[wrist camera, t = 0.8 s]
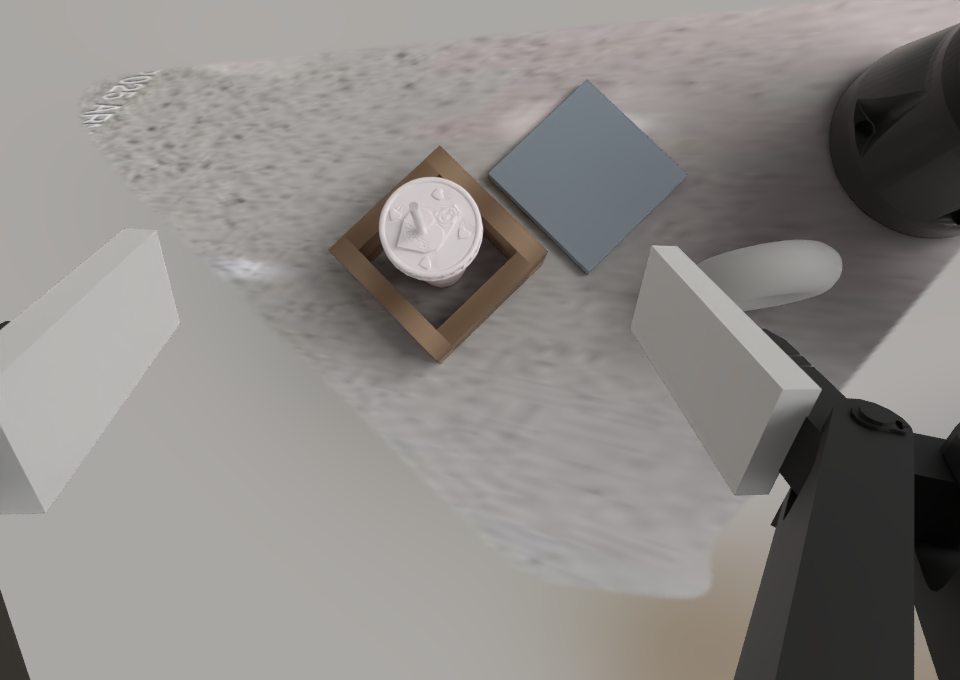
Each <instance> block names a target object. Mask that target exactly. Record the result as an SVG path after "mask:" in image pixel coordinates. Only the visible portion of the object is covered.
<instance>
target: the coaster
mask: <svg viewBox="0 0 960 680" xmlns="http://www.w3.org/2000/svg"><path fill="white" fill-rule="evenodd" d="M687 175H688V174H687V173H686V172H685V171H684V170H683V169H682V168H681V167H680V166H679V165H677V164H676V163H675V162H674V161H673V160H672V159H671V158H670V157H669V156H668V155H667V154H666V153H665V152H664V151H663V150H662V149H660V148H659V147H658V146H657V145H656V144H655V143H654V142H653V141H652V140H651V139H650V138H649V137H648V136H647V135H646V134H645V133H643V132H642V131H641V130H640V129H639V128H638V127H637V126H636V125H635V124H634V123H633V122H632V121H631V120H630V119H629V118H628V117H626V116H625V115H624V114H623V113H622V112H621V111H620V110H619V109H618V108H617V107H616V106H615V105H614V104H613V103H612V102H611V101H609V100H608V99H607V98H606V97H605V96H604V95H603V94H602V93H601V92H600V91H599V90H598V89H597V88H596V87H595V86H594V85H592V84H591V83H590V82H589V81H588V80H586V81H585V82H584V83H583V84H582V85H581V86H580V87H578V88H577V89H576V90H575V91H574V92H573V93H572V94H571V95H570V96H569V97H568V98H567V99H566V100H565V101H564V102H563V103H562V104H561V105H560V106H558V107H557V108H556V109H555V110H554V111H553V112H552V113H551V114H550V115H549V116H548V117H547V118H546V119H545V120H544V121H543V122H542V123H541V124H539V125H538V126H537V127H536V128H535V129H534V130H533V131H532V132H531V133H530V134H529V135H528V136H527V137H526V138H525V139H524V140H523V141H522V142H521V143H519V144H518V145H517V146H516V147H515V148H514V149H513V150H512V151H511V152H510V153H509V154H508V155H507V156H506V157H505V158H504V159H503V160H502V161H500V162H499V163H498V164H497V165H496V166H495V167H494V168H493V169H492V170H491V171H490V172H489V173H488V178H489V179H490V180H491V181H492V182H493V183H494V184H495V185H496V186H498V187H499V188H500V189H501V190H502V191H503V192H504V193H505V194H506V195H507V196H508V197H509V198H510V199H511V200H512V201H513V202H514V203H515V204H516V205H517V206H518V207H519V208H520V209H521V210H522V211H523V212H524V213H525V214H526V215H527V216H528V217H529V218H530V219H531V220H532V221H533V222H534V223H535V224H536V225H537V226H538V227H539V228H540V229H541V230H542V231H543V232H544V233H546V234H547V235H548V236H549V237H550V238H551V239H552V240H553V241H554V242H555V243H556V244H557V245H558V246H559V247H560V248H561V249H562V250H563V251H564V252H565V253H566V254H567V255H568V256H569V257H570V258H571V259H572V260H573V261H574V262H575V263H576V264H577V265H578V266H579V267H580V268H581V269H582V270H583V271H584V272H585V273H586V274H588V273H589V272H590V271H591V270H592V269H593V268H594V267H595V266H596V265H597V264H598V263H599V262H600V261H601V260H602V259H603V258H604V257H605V256H606V255H607V254H608V253H609V252H610V251H611V250H612V249H613V248H614V247H615V246H616V245H617V244H619V243H620V242H621V241H622V240H623V239H624V238H625V237H626V236H627V235H628V234H629V233H630V232H631V231H632V230H633V229H634V228H635V227H636V226H637V225H638V224H639V223H640V222H641V221H642V220H643V219H644V218H645V217H646V216H647V215H648V214H649V213H650V212H651V211H652V210H653V209H654V208H655V207H656V206H657V205H658V204H659V203H660V202H661V201H662V200H663V199H664V198H665V197H666V196H667V195H668V194H669V193H670V192H671V191H672V190H673V189H674V188H675V187H676V186H677V185H678V184H680V183H681V182H682V181H683V180H684V179H685V178H686V176H687Z"/></svg>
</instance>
